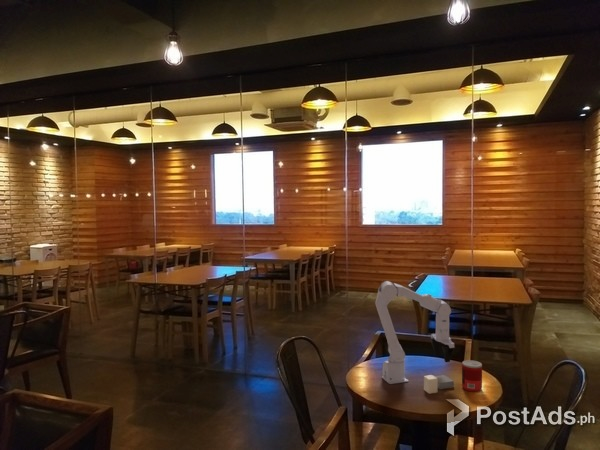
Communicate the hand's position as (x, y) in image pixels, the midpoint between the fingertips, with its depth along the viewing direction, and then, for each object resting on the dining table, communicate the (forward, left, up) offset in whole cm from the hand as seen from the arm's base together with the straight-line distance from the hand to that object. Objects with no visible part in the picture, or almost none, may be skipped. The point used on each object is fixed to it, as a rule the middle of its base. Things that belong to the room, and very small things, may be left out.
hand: (442, 358), depth 196 cm
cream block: (-11, -8, -10) cm, 17 cm away
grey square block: (-3, -4, -10) cm, 11 cm away
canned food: (+7, -11, -10) cm, 17 cm away
